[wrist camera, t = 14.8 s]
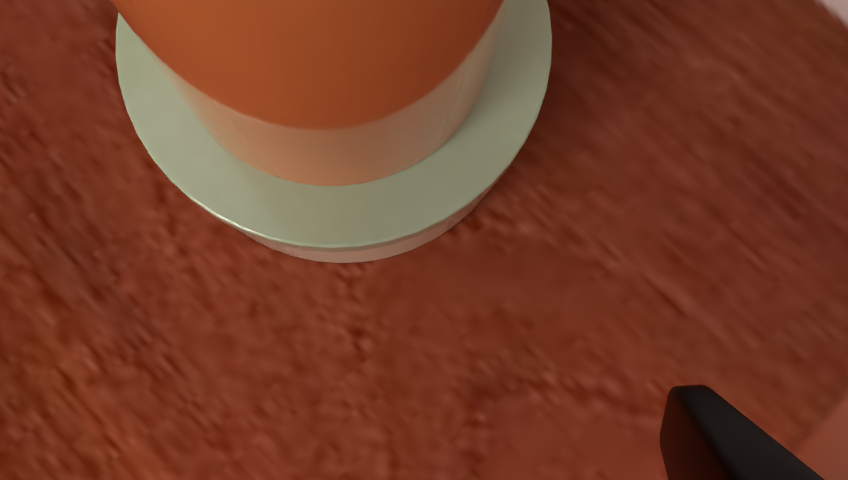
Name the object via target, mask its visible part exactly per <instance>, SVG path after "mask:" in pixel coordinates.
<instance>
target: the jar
mask: <svg viewBox="0 0 848 480" xmlns="http://www.w3.org/2000/svg"><path fill="white" fill-rule="evenodd" d="M551 58H552V30H551V20H550V11H549V7H548V3H547V0H509V3H508V7H507V10H506V14H505V17H504V21H503V24H502V28H501V31H500V34H499V38H498V41H497V45H496V48H495V52H494V55H493V59H492V62H491V66H490V69H489V73H488V76H487V79H486V82H485V85H484V87H483V89H482V92H481V94H480V97H479V99H478V101H477V102H476V104H475V106H474V107H473V109H472V111H471V113H470V114H469V116H468V117H467V119H466V120H465V121H464V122H463V124H462V125H461V126H460V127H459V129H458V130H457V131H456V132H455V134H453V135H452V136H451V137H450V138H449V139H448V140H447V141H446V142H445V143H444V144H443V145H442V146H441V147H440V148H439V149H437V150H436V151H434V152H433V153H432V154H430V155H429V156H428V157H426V158H425V159H424V160H422V161H420V162H418V163H416V164H415V165H413V166H411V167H409V168H407V169H406V170H403V171H401V172H398V173H396V174H393V175H391V176H388V177H386V178H383V179H379V180H375V181H371V182H367V183H362V184H354V185H346V186H316V185H309V184H301V183H296V182H292V181H288V180H284V179H281V178H277V177H274V176H272V175H269V174H267V173H265V172H262V171H260V170H257V169H255V168H254V167H252V166H250V165H248V164H247V163H245V162H243V161H241V160H240V159H238V158H237V157H235V156H234V155H233V154H231V153H230V152H229V151H227V150H226V149H225V148H223V147H222V146H221V145H220V144H219V143H218V142H217V141H216V140H215V139H214V138H213V137H212V136H211V135H210V134H209V133H208V132H207V131H206V130H205V128H204V127H203V126H202V124H201V123H200V122H199V120H198V119H197V118H196V116H195V115H194V114H193V112H192V111H191V110H190V108H189V107H188V106H187V104H186V103H185V102H184V100H183V99H182V98H181V96H180V95H179V93H178V92H177V91H176V89H175V88H174V87H173V85H172V84H171V83H170V81H169V80H168V79H167V77H166V76H165V74H164V73H163V72H162V70H161V69H160V68H159V66H158V65H157V64H156V62H155V61H154V60H153V58H152V57H151V55H150V54H149V53H148V51H147V50H146V49H145V47H144V46H143V45H142V43H141V42H140V41H139V39H138V38H137V36H136V35H135V34H134V32H133V31H132V30H131V28H130V27H129V26H128V24H127V23H126V22H125V20H124V19H123V17H122V16H121V15H120V13H119V14H118V20H117V26H116V64H117V71H118V79H119V85H120V89H121V92H122V96H123V100H124V103H125V107H126V110H127V112H128V115H129V117H130V119H131V122H132V124H133V126H134V128H135V131H136V133H137V135H138V137H139V138H140V140H141V142H142V143H143V145H144V146H145V148H146V150H147V151H148V153H149V155H150V156H151V158H152V159H153V160H154V162H155V163H156V164H157V165H158V166H159V168H160V169H161V170H162V171H163V172H164V174H165V175H166V176H167V177H168V178H169V180H170V181H171V182H172V183H173V184H174V185H176V186H177V187H178V188H179V189H180V190H181V191H182V192H183V193H184V194H185V195H187V196H188V197H189V198H190V199H191V200H192V201H193V202H194V203H195V204H196V205H198V206H199V207H200V208H202V209H203V210H205V211H206V212H208V213H209V214H211V215H212V216H214V217H215V218H217V219H218V220H219V221H221V222H223V223H225V224H227V225H229V226H231V227H233V228H235V229H237V230H239V231H241V232H242V233H244V234H245V235H247V236H248V237H250V238H251V239H253V240H255V241H257V242H259V243H261V244H263V245H265V246H267V247H269V248H271V249H274V250H277V251H280V252H283V253H286V254H288V255H291V256H294V257H299V258H304V259H309V260H314V261H321V262H334V263H351V262H367V261H372V260H377V259H383V258H388V257H392V256H395V255H398V254H401V253H404V252H407V251H410V250H413V249H415V248H417V247H419V246H421V245H423V244H425V243H427V242H430V241H432V240H434V239H435V238H437V237H438V236H440V235H441V234H443V233H444V232H446V231H447V230H449V229H451V228H452V227H453V226H455V225H456V224H457V223H458V222H459V221H460V220H462V219H463V218H464V217H465V216H466V215H468V214H469V213H470V212H471V211H472V210H473V208H474V207H475V206H476V205H477V204H478V203H479V202H480V201H481V200H482V199H483V197H484V196H485V195H486V194H487V192H488V191H489V190H490V189H491V188H492V187H493V185H494V184H495V183H496V182H497V181H498V180H499V179H500V178H501V177H502V175H503V174H504V173H505V172H506V171H507V170H508V168H509V167H510V165H511V164H512V162H513V161H514V159H515V158H516V156H517V155H518V154H519V152H520V151H521V149H522V147H523V146H524V144H525V142H526V140H527V138H528V136H529V134H530V132H531V130H532V128H533V126H534V124H535V122H536V120H537V118H538V115H539V112H540V109H541V106H542V103H543V100H544V97H545V94H546V90H547V85H548V80H549V74H550V69H551Z"/></svg>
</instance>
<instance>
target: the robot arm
mask: <svg viewBox="0 0 848 480" xmlns="http://www.w3.org/2000/svg"><path fill="white" fill-rule="evenodd" d="M660 447H661V452H662V456H663V460H664V464H665V468H666V472H667V475H668V479H669V480H824V479H823V478H822V477H820V476H819V475H818V474H817V473H816V472H814V471H813V470H812V469H810V468H809V467H808V466H807V465H805V464H804V463H803V462H802V461H800V460H799V459H798V458H797V457H796V456H794V455H793V454H792V453H791V452H789V451H788V450H787V449H786V448H784V447H783V446H782V445H781V444H779V443H778V442H777V441H776V440H774V439H773V438H772V437H771V436H769V435H768V434H767V433H766V432H764V431H763V430H762V429H761V428H759V427H758V426H757V425H756V424H754V423H753V422H752V421H751V420H749V419H748V418H747V417H746V416H744V415H743V414H742V413H741V412H739V411H738V410H737V409H736V408H734V407H733V406H732V405H731V404H729V403H728V402H727V401H726V400H724V399H723V398H722V397H721V396H719V395H718V394H717V393H716V392H714V391H713V390H712V389H711V388H709V387H707V386H705V385H685V386H675V387H673V388H672V389H671V390H670V391H669V394H668V397H667V402H666V407H665V412H664V416H663V421H662V426H661V431H660Z"/></svg>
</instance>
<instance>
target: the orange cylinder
mask: <svg viewBox="0 0 848 480" xmlns="http://www.w3.org/2000/svg"><path fill="white" fill-rule="evenodd" d="M110 1H111V2H112V4H113V5H114V7H115V8H116V9H117V11H118V12H119V13H120V15H121V16H122V17H123V19H124V20H125V22H126V23H127V24H128V26H129V27H130V28H131V30H132V31H133V32H134V34H135V35H136V36H137V38H138V39H139V41H140V42H141V43H142V45H143V46H144V47H145V49H146V50H147V51H148V53H149V54H150V55H151V57H152V58H153V60H154V61H155V62H156V64H157V65H158V66H159V68H160V69H161V70H162V72H163V73H164V74H165V76H166V77H167V79H168V80H169V81H170V83H171V84H172V85H173V87H174V88H175V89H176V91H177V92H178V93H179V95H180V96H181V98H182V99H183V100H184V102H185V103H186V104H187V106H188V107H189V108H190V110H191V111H192V112H193V114H194V115H195V116H196V118H197V119H198V120H199V122H200V123H201V124H202V126H203V127H204V128H205V130H206V131H207V132H208V133H209V134H210V135H211V136H212V137H213V138H214V139H215V140H216V141H217V142H218V143H219V144H220V145H221V146H222V147H223V148H225V149H226V150H227V151H229V152H230V153H231V154H233V155H234V156H235V157H237V158H238V159H240V160H241V161H243V162H245V163H247V164H248V165H250V166H252V167H254V168H255V169H257V170H260V171H262V172H265V173H267V174H269V175H272V176H274V177H277V178H281V179H284V180H288V181H292V182H296V183H301V184H309V185H316V186H346V185H354V184H362V183H367V182H371V181H375V180H379V179H383V178H386V177H388V176H391V175H393V174H396V173H398V172H401V171H403V170H406V169H407V168H409V167H411V166H413V165H415V164H416V163H418V162H420V161H422V160H424V159H425V158H426V157H428V156H429V155H430V154H432V153H433V152H434V151H436V150H437V149H439V148H440V147H441V146H442V145H443V144H444V143H445V142H446V141H447V140H448V139H449V138H450V137H451V136H452V135H453V134H455V132H456V131H457V130H458V129H459V127H460V126H461V125H462V124H463V122H464V121H465V120H466V119H467V117H468V116H469V114H470V113H471V111H472V109H473V107H474V106H475V104H476V102H477V101H478V99H479V97H480V94H481V92H482V89H483V87H484V85H485V82H486V79H487V76H488V73H489V69H490V66H491V62H492V59H493V55H494V52H495V48H496V45H497V41H498V38H499V34H500V31H501V28H502V24H503V21H504V17H505V14H506V10H507V7H508V3H509V0H110Z"/></svg>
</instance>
